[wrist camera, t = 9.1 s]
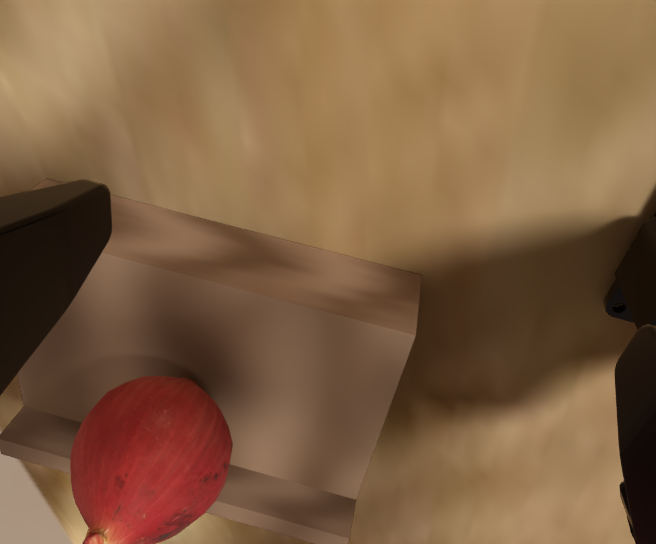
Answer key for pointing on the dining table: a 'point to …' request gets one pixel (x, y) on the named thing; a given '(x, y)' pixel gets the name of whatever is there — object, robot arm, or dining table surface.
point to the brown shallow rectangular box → (233, 358)
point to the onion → (149, 460)
